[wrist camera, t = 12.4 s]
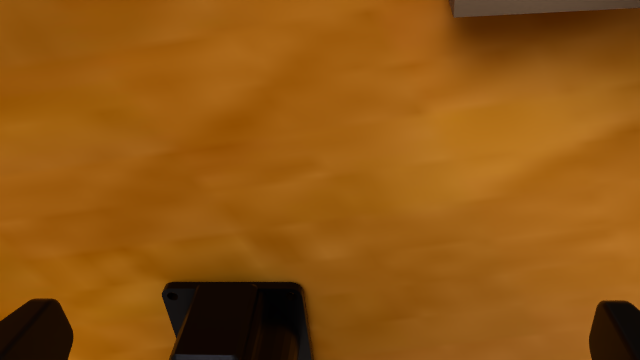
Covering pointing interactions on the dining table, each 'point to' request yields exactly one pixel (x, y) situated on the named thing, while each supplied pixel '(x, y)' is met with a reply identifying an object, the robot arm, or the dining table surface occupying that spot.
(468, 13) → the walnut block
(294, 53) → the dining table surface
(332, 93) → the dining table surface
